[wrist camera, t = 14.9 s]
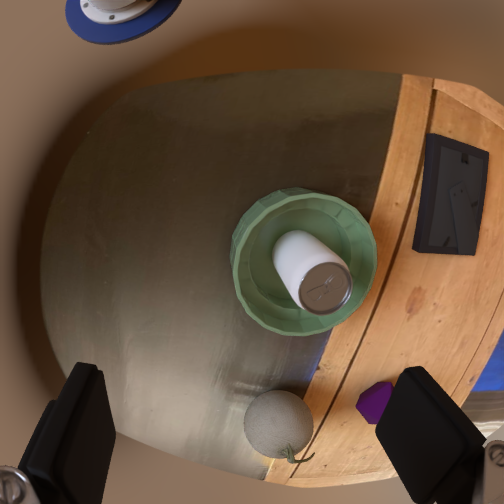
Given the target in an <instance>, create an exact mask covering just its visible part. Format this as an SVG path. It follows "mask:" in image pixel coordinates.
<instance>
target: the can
mask: <svg viewBox="0 0 504 504" xmlns="http://www.w3.org/2000/svg"><path fill="white" fill-rule="evenodd" d="M272 261H273V264H274V266H275V268H276V270H277V272H278V274H279V276H280V277H281V279H282V281H283V283H284V284H285V286H286V288H287V290H288V291H289V293H290V295H291V296H292V298H293V300H294V301H295V302H296V304H297V305H298V306H299V307H301V308H302V309H304V310H306V311H307V312H309V313H311V314H313V315H318V316H325V315H329V314H332V313H335V312H336V311H338V310H340V309H341V308H342V307H343V306H344V305H345V304H346V303H347V301H348V300H349V298H350V296H351V293H352V289H353V280H352V277H351V274H350V272H349V269H348V267H347V265H346V263H345V262H344V261H343V260H342V259H341V258H340V257H339V256H338V255H337V254H335V253H334V252H333V251H332V250H331V249H329V248H328V247H327V246H326V245H324V244H323V243H322V242H321V241H319V240H318V239H317V238H315V237H314V236H313V235H311V234H310V233H308V232H306V231H302V230H293V231H290V232H287V233H285V234H284V235H282V236H281V237H280V238H279V239H278V240H277V242H276V243H275V245H274V247H273V251H272Z"/></svg>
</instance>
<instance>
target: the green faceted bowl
mask: <svg viewBox="0 0 504 504" xmlns="http://www.w3.org/2000/svg"><path fill="white" fill-rule="evenodd" d="M293 230H302V231H306V232H308V233H310V234H311V235H313V236H314V237H315V238H317V239H318V240H319V241H321V242H322V243H323V244H324V245H326V246H327V247H328V248H329V249H331V250H332V251H333V252H334V253H335V254H337V255H338V256H339V257H340V258H341V259H342V260H343V261H344V262H345V263H346V265H347V267H348V269H349V272H350V274H351V277H352V280H353V289H352V293H351V296H350V298H349V300H348V301H347V303H346V304H345V305H344V306H343V307H342V308H341V309H340V310H338V311H336V312H335V313H332V314H329V315H325V316H318V315H313V314H311V313H309V312H307V311H306V310H304V309H302V308H301V307H299V306H298V305H297V304H296V302H295V301H294V300H293V298H292V296H291V295H290V293H289V291H288V290H287V288H286V286H285V284H284V283H283V281H282V279H281V277H280V276H279V274H278V272H277V270H276V268H275V266H274V264H273V261H272V251H273V247H274V245H275V243H276V242H277V240H278V239H279V238H280V237H281V236H282V235H284V234H285V233H287V232H290V231H293ZM230 262H231V267H232V273H233V278H234V283H235V289H236V294H237V297H238V298H239V300H240V302H241V304H242V305H243V307H244V309H245V310H246V312H247V314H248V315H249V316H250V317H252V318H253V319H254V320H255V321H256V322H258V323H259V324H260V325H261V326H263V327H264V328H266V329H269V330H271V331H274V332H277V333H279V334H282V335H290V336H308V335H312V334H317V333H321V332H325V331H327V330H329V329H331V328H333V327H334V326H336V325H338V324H340V323H342V322H344V321H345V320H346V319H347V318H348V317H349V316H350V315H351V314H352V313H353V312H354V311H356V310H357V309H358V308H359V307H360V305H361V304H362V302H363V301H364V299H365V297H366V296H367V294H368V292H369V291H370V289H371V287H372V284H373V280H374V277H375V273H376V269H377V245H376V242H375V239H374V236H373V233H372V230H371V227H370V225H369V224H368V223H367V221H366V220H365V219H364V218H363V216H362V215H361V214H360V213H359V211H358V210H357V209H356V208H354V207H353V206H351V205H349V204H348V203H346V202H345V201H343V200H341V199H340V198H338V197H335V196H332V195H329V194H326V193H323V192H321V191H317V190H312V189H306V188H301V187H296V188H289V189H282V190H277V191H275V192H273V193H271V194H269V195H267V196H265V197H263V198H261V199H259V200H258V201H257V202H256V203H255V204H254V205H253V206H252V207H251V208H250V209H249V210H248V211H247V212H246V213H245V214H244V215H243V216H242V218H241V219H240V221H239V223H238V225H237V227H236V229H235V231H234V233H233V236H232V242H231V248H230Z"/></svg>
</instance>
